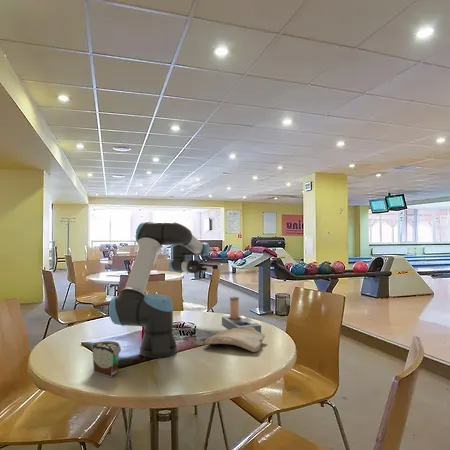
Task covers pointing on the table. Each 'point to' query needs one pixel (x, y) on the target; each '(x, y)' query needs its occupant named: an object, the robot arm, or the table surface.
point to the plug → (234, 308)
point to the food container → (106, 357)
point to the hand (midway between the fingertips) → (219, 268)
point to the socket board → (240, 323)
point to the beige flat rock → (238, 338)
